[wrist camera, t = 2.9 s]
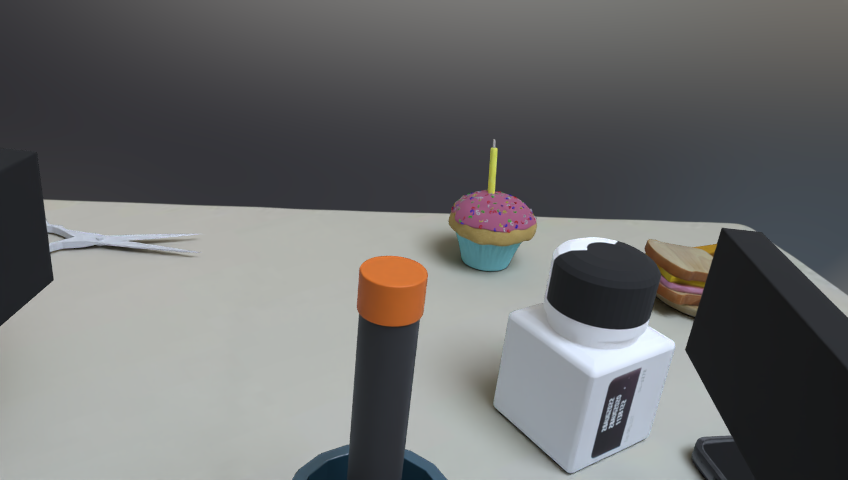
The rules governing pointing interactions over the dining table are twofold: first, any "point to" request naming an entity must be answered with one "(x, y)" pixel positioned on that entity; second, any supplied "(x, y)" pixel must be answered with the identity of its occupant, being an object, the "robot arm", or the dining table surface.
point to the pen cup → (330, 468)
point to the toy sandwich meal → (681, 273)
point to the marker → (384, 365)
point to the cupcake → (491, 225)
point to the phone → (720, 459)
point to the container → (586, 355)
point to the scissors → (105, 239)
